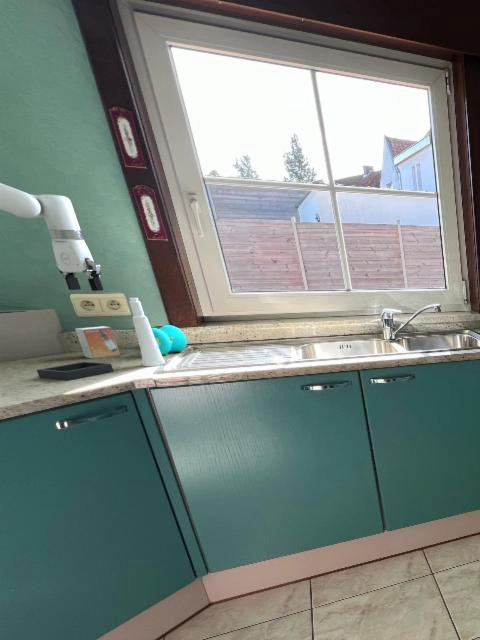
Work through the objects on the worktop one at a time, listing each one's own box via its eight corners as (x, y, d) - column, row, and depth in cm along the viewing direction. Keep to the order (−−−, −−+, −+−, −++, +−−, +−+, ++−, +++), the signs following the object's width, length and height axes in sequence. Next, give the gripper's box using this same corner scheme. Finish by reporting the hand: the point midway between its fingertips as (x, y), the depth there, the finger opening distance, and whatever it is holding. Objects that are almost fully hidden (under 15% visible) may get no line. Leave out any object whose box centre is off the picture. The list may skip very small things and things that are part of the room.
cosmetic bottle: (142, 364, 169) (121, 297, 161) (165, 362, 173) (145, 297, 164) (143, 367, 165) (121, 299, 156) (166, 364, 168) (146, 298, 160)
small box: (92, 359, 173) (81, 329, 169) (84, 358, 175) (73, 328, 171) (121, 356, 180) (111, 326, 176) (113, 354, 182) (103, 325, 178)
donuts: (143, 355, 182) (135, 328, 178) (167, 350, 191) (159, 324, 187) (170, 356, 181) (161, 328, 178) (191, 351, 191) (184, 325, 187)
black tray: (39, 378, 148) (36, 369, 147) (86, 369, 160) (83, 361, 159) (68, 380, 147) (65, 372, 146) (113, 371, 158) (111, 363, 157)
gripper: (32, 235, 161) (53, 290, 167) (74, 236, 158) (94, 291, 164) (60, 236, 168) (79, 288, 174) (100, 237, 165) (118, 290, 171)
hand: (86, 290), depth 169 cm, fingers open, 9 cm apart
